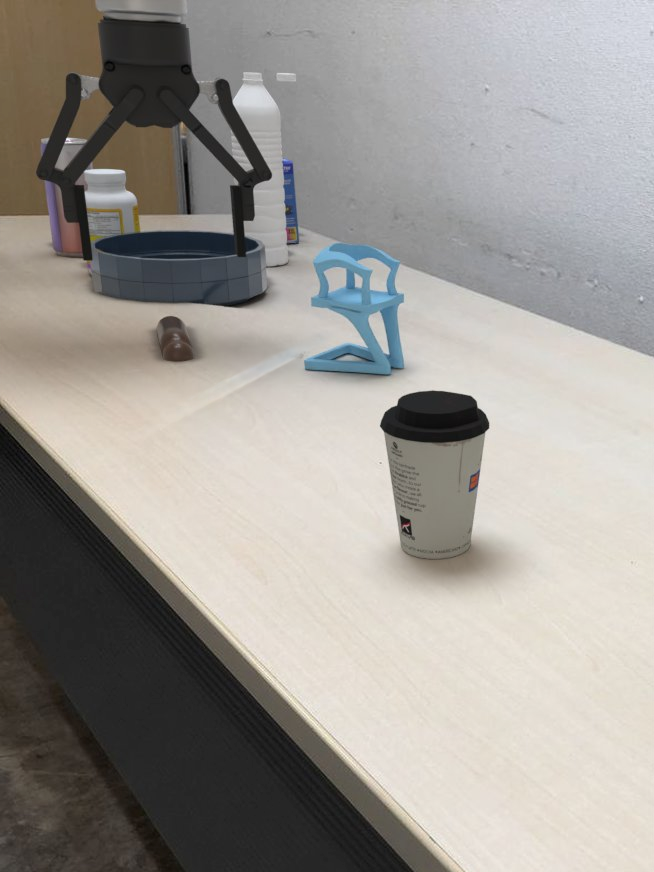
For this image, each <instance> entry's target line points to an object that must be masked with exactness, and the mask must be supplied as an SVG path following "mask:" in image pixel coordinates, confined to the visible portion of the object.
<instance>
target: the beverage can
mask: <svg viewBox="0 0 654 872" xmlns="http://www.w3.org/2000/svg"><path fill="white" fill-rule="evenodd" d="M49 138H50V137H45V138H41V139H40V142H41V144H40V158H41V157H42V155H43V152H44V150H45V147H46V145H47V142H48V140H49ZM87 140H88V139H85V138H79V137H78V138H76V137H67V139H66V141H65V143H64V146H63V148H62V151H61V153H60V156H59V158H58V160H57V163H56V165H55V168H58V169H61V170H64V169H65V168H66V166H67V165H68V164H69V163H70V161H71V160H72V159H73V158H74V156H75V155H76V154H77V153H78V151H79V150H80V149H81V148H82V146H83V145H84V144H85V143H86V141H87ZM93 166H94V165H93V161H92V162H91V164H90V165H89V166H88V167H87V169H86V170H91V169H94V167H93ZM75 185H84V190H85V191H87V190H88V184H87V183H86V181H85V177H84V172H83V174H82V175H81V176H80V177H79V179H78V180H77V181H76V182H75ZM44 188H45V195H46V204H47V211H48V218H49V227H50V234H51V241H52V242H51V243H52V248H53V251H54V252H55V254H56V255H58V256H60V257H66V258H83V251H82V243H81V235H80V227H79V223H67V221H66V219H65V218H64V210H63V203H62V195H61V189H60V187H59V186H58V185H57V184H55V183H52V182H49V181H46V180H44Z"/></svg>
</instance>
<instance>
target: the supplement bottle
mask: <svg viewBox="0 0 654 872" xmlns="http://www.w3.org/2000/svg"><path fill="white" fill-rule="evenodd" d="M84 177H85V181H86V183H87V184H88V190H87V191H85V199H86V207H87V215H88V223H89V232H90V240H91V242H92V241H94V240H96V239H98V238H102V237H106V236H110V235H115V234H123V233H130V232H141V225H140V214H139V206H138V199H137V197H136V196H135V194H134V193H133V192H131V191H130V190H127V188H126V183H127V174H126V171H125V170H123V169H115V168H113V169H112V168H93V169H91V170H85V171H84ZM86 267H87V271H88V274H89V275H91V276H92V274H91V265H90V260H89V261H86Z"/></svg>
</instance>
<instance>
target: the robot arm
mask: <svg viewBox="0 0 654 872" xmlns="http://www.w3.org/2000/svg"><path fill="white" fill-rule="evenodd" d="M94 3H95V9H96V10H97V11H99V12H103V16H102V18H100V19H99V22H97V30H98V38H99V47H100V56H101V64H102V67H101V69H102V70H101V74H100V76H99V77H95V76H89V75H84V74H79V73H78V72H75V71H69V72H67V74H66V76H65V99H64V101H63V104H62V106H61V109H60V111H59V113H58V116H57V119H56V121H55V123H54V125H53V128H52V131H51V133H50V135H49V137H48V138H49V140H48V142H47V145H46V147H45V150H44V152H43V155H42V157H41V156H40V159H39V162H38V165H37V167H36V170H35V174H36V176H37V178H38V179H39V180H42V181H45V180H46V181H49V182H52V183H55V184H57V185H58V186H59V187H60V189H61V195H62V203H63V210H64V218H65V219H66V221H67V223H79V227H80V235H81V243H82V251H83V257H82V259H83V261H85V262H87V261H89V260H93V258H92V248H91V240H90V232H89V223H88V215H87V207H86V199H85V190H84V185H75V182H76V181H77V180H78V179H79V177H80V176H81V175H82V174H83V172H84V171H85V170H86V169H87V167H88V166H89V165H90V164H91V162H92V163H93V161H94V160H95V159H96V157H97V156H98V155H99V154H100V152H101V151H102V150H103V149H104V147H105V146H106V145H107V144H108V143H109V141H110V140H111V138H113V136H114V135H115V134H116V132H118V130H119V129H120V128H121V127H122V126H123V124H124V123H125V122H126V123H127V124H129V125H130V126H133V127H135V128H148V127H153V126H156V127H159V128H162V129H173V128H174V127H177V126H178V125H180V124H181V123H182V124H183V125H184V126H185V127H186V128H187V129H188V130H189V132H191V133H192V134H193V135H194V136H195V138H197V140H199V142H200V143H201V144H202V145H203V146H204V147H205V148H206V150H208V152H209V153H211V155H212V156H213V157H214V158H215V159H216V160H217V161H218V162H219V163H220V164H221V165H222V166H223V167H224V169H226V170H227V172H228V173H229V174H230V175H231V176H232V177H234V178H235V179H236V180H237V181H238V185H235V184H230V185H229V190H230V204H231V217H232V218H231V219H232V232H233V233H232V234H234V246H235V253H236V255H237V256H238V257H246V247H245V233H244V221H253V220H254V217H255V210H254V194H253V189H254V187H255V185H256V184H258V183H261V182H264V181H269V180H270V179H271V178H272V172H271V170H270V169H269V167H268V165H267V163H266V162H265V160H264V158H263V156H262V154H261V153H260V151H259V149H258V147H257V146H256V144H255V142H254V140H253V139H252V137H251V135H250V133H249V131H248V130H247V128H246V126H245V124H244V123H243V121H242V119H241V117H240V115H239V114H238V112H237V110H236V108H235V107H234V105H233V96H232V91H231V85H230V82H229V81H228V80H226V79H225V78H222V77H216V78H215V79H210V80H198V81H197V79H196V77H195V75H194V72H193V63H192V51H191V41H190V40H191V39H190V38H191V37H190V28H189V27H187V24H186V23H182V17H187V15H188V5H187V0H94ZM97 90H99V91H100V93H101V94H102V95H103V96H104V98H105V99H106V100H107V101H108V102H109V103H110V105H111V106H112V108H111V110H109V112H108V113H107V114H106V116H104V118H103V120H102V121H101V122H100V124H99V125H98V126H97V128H96V129H95V130H94V131H93V132H92V134H91V135H90V136H89V137H88V138H87V139H86V140H87V141H86V143H85V144H84V145H83V146H82V148H81V149H80V150H79V151H78V153H77V154H76V155H75V156H74V158H73V159H72V160H71V161H70V163H69V164H68V165H67V166H66V168H65V169H64V170H61V169H58V168H55V165H56V163H57V160H58V158H59V156H60V153H61V151H62V148H63V146H64V143H65V141H66V139H67V138H68V137H69V135H70V131H71V130H72V127H73V125H74V122H75V119H76V117H77V114H78V112H79V109H80V107H81V101H87V100H89V99H90V98H91V96H92V93H93V92H95V91H97ZM200 94H204V95H205V96H206V97H207V100H208V101H209V103H211V104H214V105H217V106H218V109H219V111H220V113H221V115H222V116H223V118H224V120H225V121H226V123H227V125H228V128H230V131H231V130H232V132H233V134H234V136H235V137H236V139H237V141H238V143H239V144H240V146H241V148H242V150H243V151H244V153H245V155H246V157H247V158H248V160H249V162H250V164H251V165H252V167H253V169H252V170H249V171H245V170H244V169H243V168H242V167H241V166H240V165H239V164H238V162H237V161H236V160H235V159H234V158H233V157H232V155H231V154H230V152H228V150H227V149H226V148H225V147H224V146H223V145H222V144H221V143H220V142H219V141H218V140H217V139H216V137H214V136H213V134H212V133H211V132H210V131H209V130H208V128H206V127H205V125H204V124H203V123H201V122H200V120H199V119H198V118H197V117H196V116H195V115H194V113H192V112H191V110H190V109H191V108H192V107H193V105H194V104H195V102H196V100H197V99H198V97H199V96H200ZM234 178H233V179H234Z"/></svg>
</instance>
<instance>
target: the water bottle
mask: <svg viewBox="0 0 654 872" xmlns="http://www.w3.org/2000/svg"><path fill="white" fill-rule="evenodd" d="M242 74H243V75H242V77H243V78H241V81H242V85H241V87H240V88H239V90H238V91H237V93H236V95H235V97H234V98H233V99H232V101H233V105H234V107H235V108H236V110H237V112H238V114H239V115H240V117H241V119H242V121H243V123H244V124H245V126H246V128H247V130H248V131H249V133H250V135H251V137H252V139H253V140H254V142H255V144H256V146H257V147H258V149H259V151H260V153H261V154H262V156H263V158H264V160H265V162H266V163H267V165H268V167H269V169H270V170H271V172H272V178H271V179H270V180H269V181H264V182H261V183H258V184H256V185H255V187H254V189H253V194H254V210H255V217H254V220H253V221H244V233H245V236H249V237H252V238H255V239H257V240H260V241H262V242H263V244H264V245H265V255H266V268H268V267H277V266H284V265H286V264H287V263H289V248H288V247H289V246H288V245H287V244H288V243H287V232H286V229H285V228H286V216H285V203H284V200H285V191H284V188H283V185H284V174H283V169H282V167H283V163H282V161H283V158H284V157H283V145H282V142H283V139H282V137H281V136H282V131H281V130H282V118H281V117H282V116H281V112H280V108H279V106H278V104H277V103H276V101H275V100H274V98H273V97H272V96H271V94H270V93H269V91H268V90H267V88H266V87H265V85H264V79H263V74H262V72H249V71H246V72H245V71H244V72H243V73H242ZM276 81H278V82H289V83H290V82H291V83H292V82H293V83H294V82H295V83H296V82H297V74H296V73H292V72H291V73H289V72H277V73H276ZM230 135H231V137H230V140H231V148H232V149H231V154H232V155H231V156H232V157H233V158H234V159H235V160H236V161H237V162H238V164H239V165H240V166H241V167H242V168H243V169H244V170H245V171H249V170H252V169H253V167H252V165H251V164H250V162H249V160H248V158H247V157H246V155H245V153H244V151H243V150H242V148H241V146H240V144H239V143H238V141H237V139H236V137H235V136H234V134H233V132H232V130H231V129H230ZM232 177H233V176H232ZM233 185H238V181H237V180H236V179H235V178H234V177H233ZM286 243H287V244H286Z"/></svg>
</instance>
